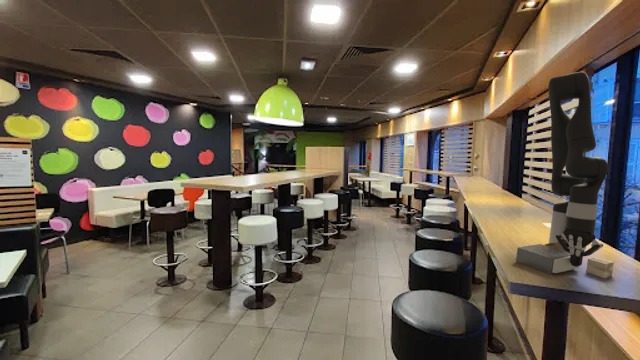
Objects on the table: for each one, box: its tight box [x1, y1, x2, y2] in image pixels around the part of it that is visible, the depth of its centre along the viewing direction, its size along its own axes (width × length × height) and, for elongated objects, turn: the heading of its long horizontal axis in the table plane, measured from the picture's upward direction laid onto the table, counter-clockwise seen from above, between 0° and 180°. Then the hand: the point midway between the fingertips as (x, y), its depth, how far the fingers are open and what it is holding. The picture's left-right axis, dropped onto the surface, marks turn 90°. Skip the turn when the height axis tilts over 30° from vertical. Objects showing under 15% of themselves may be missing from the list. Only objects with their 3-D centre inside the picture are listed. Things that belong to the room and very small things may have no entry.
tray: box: [552, 256, 580, 274], centre depth 106 cm, size 14×13×5 cm
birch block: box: [585, 256, 615, 279], centre depth 101 cm, size 5×5×5 cm
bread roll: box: [544, 242, 567, 252], centre depth 116 cm, size 10×10×8 cm
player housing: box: [515, 243, 575, 275], centre depth 108 cm, size 14×12×6 cm
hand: (575, 265), depth 99 cm, fingers closed
